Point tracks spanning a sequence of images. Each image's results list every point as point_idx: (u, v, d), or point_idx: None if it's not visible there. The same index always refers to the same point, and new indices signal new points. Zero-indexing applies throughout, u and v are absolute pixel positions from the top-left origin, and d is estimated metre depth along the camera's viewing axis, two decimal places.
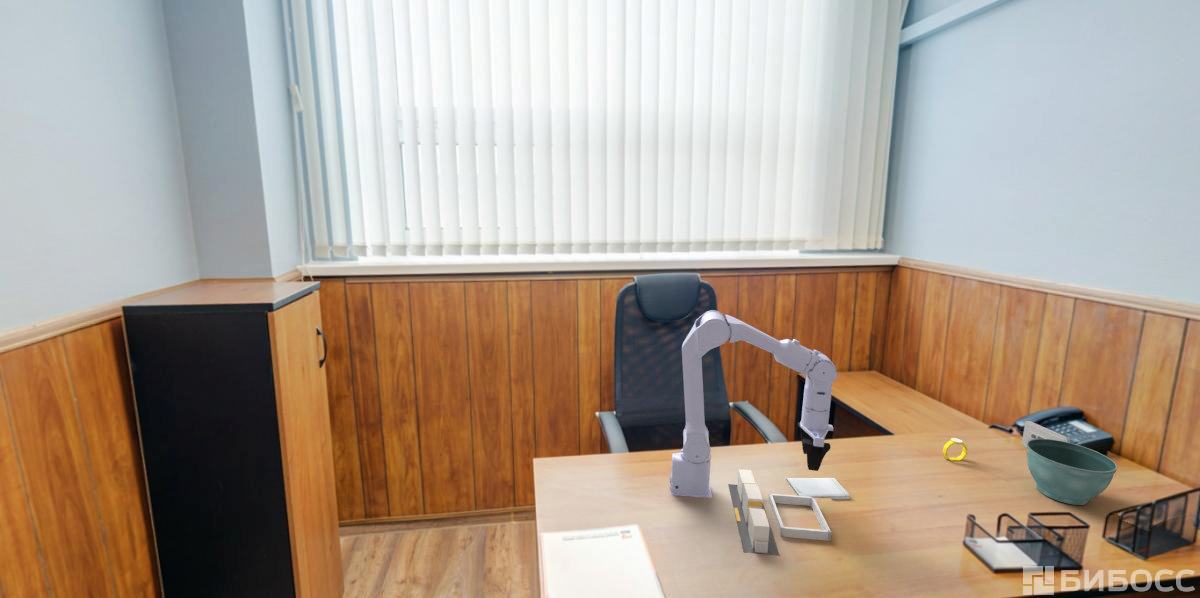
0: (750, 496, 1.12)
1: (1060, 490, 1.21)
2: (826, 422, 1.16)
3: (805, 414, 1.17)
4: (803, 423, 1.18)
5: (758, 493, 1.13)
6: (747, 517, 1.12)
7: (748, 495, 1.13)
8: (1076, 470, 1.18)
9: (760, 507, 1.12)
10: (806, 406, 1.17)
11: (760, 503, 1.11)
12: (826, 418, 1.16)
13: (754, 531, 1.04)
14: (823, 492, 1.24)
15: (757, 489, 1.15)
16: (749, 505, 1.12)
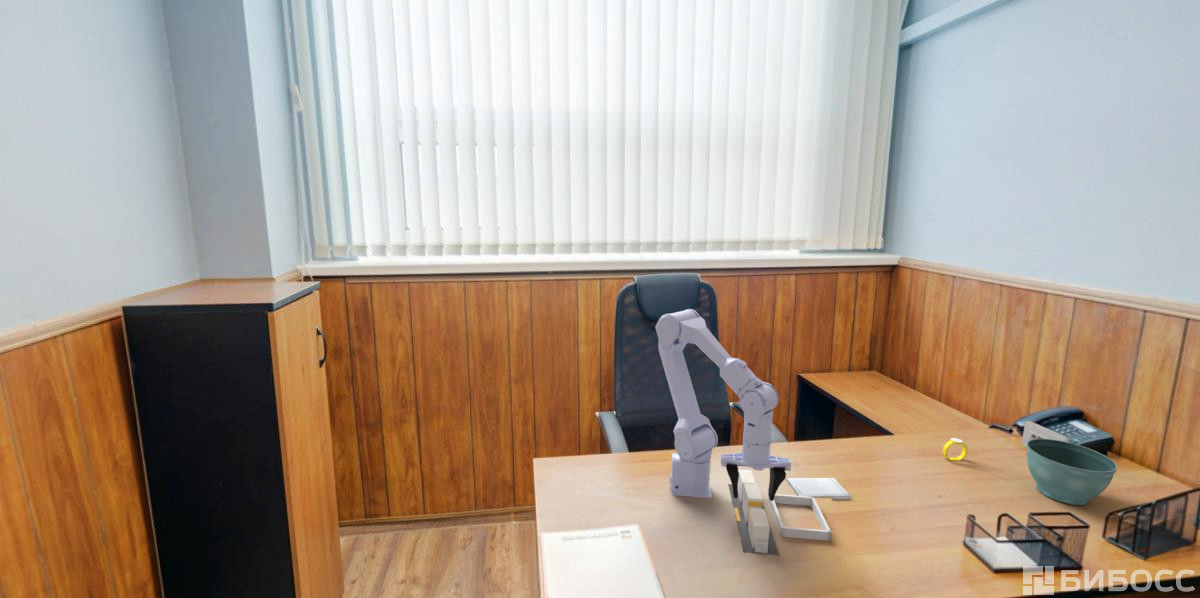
0: (750, 496, 1.12)
1: (1060, 490, 1.21)
2: (749, 455, 1.11)
3: None
4: None
5: (758, 493, 1.13)
6: (747, 517, 1.12)
7: (748, 495, 1.13)
8: (1076, 470, 1.18)
9: (760, 507, 1.12)
10: (743, 436, 1.13)
11: (760, 503, 1.11)
12: (748, 451, 1.10)
13: (754, 531, 1.04)
14: (823, 492, 1.24)
15: (757, 489, 1.15)
16: (749, 505, 1.12)
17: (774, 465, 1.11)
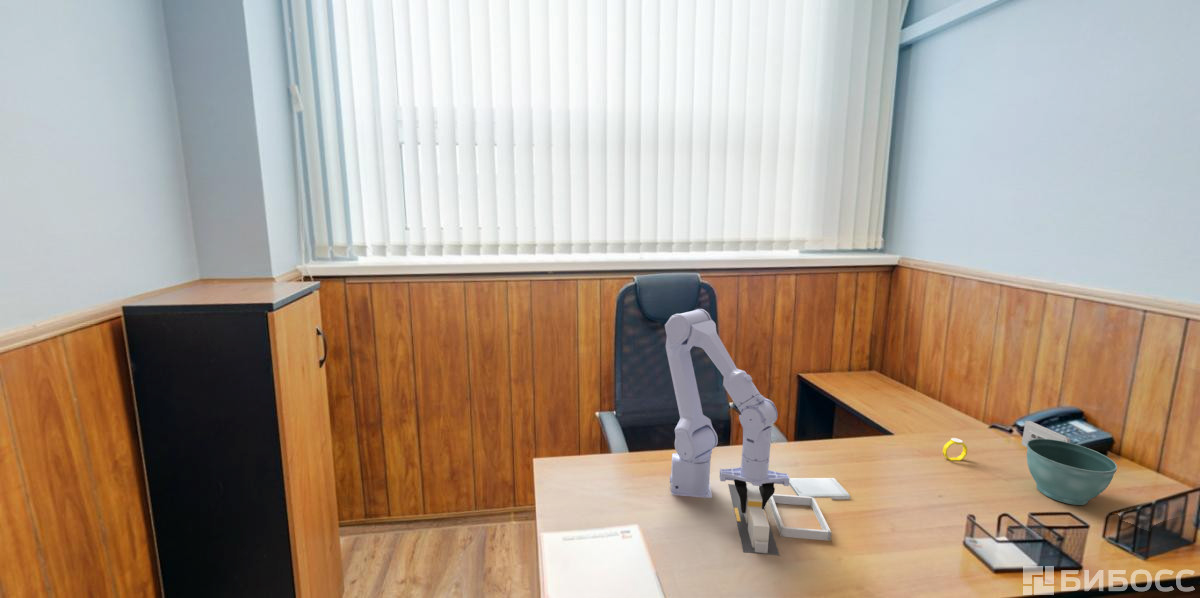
0: (750, 496, 1.12)
1: (1060, 490, 1.21)
2: (747, 471, 1.11)
3: None
4: None
5: (758, 493, 1.13)
6: (747, 517, 1.12)
7: (748, 495, 1.13)
8: (1076, 470, 1.18)
9: (760, 507, 1.12)
10: (742, 451, 1.13)
11: (760, 503, 1.11)
12: (747, 466, 1.11)
13: (754, 531, 1.04)
14: (823, 492, 1.24)
15: (757, 489, 1.15)
16: (749, 505, 1.12)
17: (773, 480, 1.11)
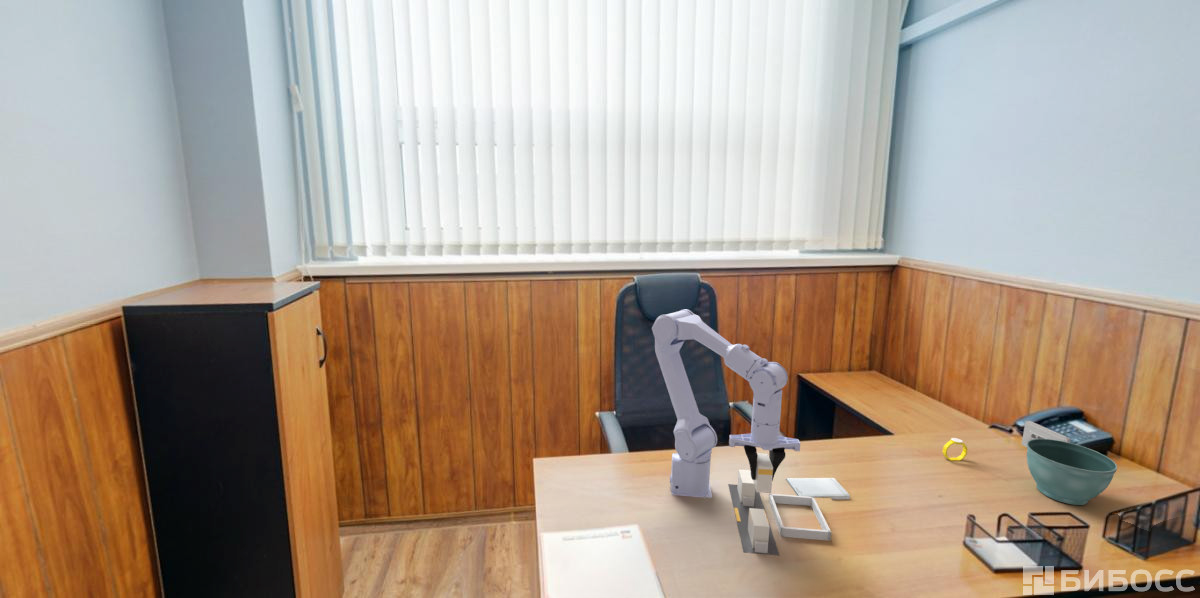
0: (760, 464, 1.10)
1: (1060, 490, 1.21)
2: (757, 435, 1.09)
3: None
4: None
5: (768, 461, 1.11)
6: (757, 486, 1.10)
7: (758, 463, 1.11)
8: (1076, 470, 1.18)
9: (771, 475, 1.09)
10: (752, 416, 1.11)
11: (771, 471, 1.09)
12: (757, 431, 1.09)
13: (754, 531, 1.04)
14: (823, 493, 1.24)
15: (767, 458, 1.13)
16: (759, 473, 1.10)
17: (783, 445, 1.09)
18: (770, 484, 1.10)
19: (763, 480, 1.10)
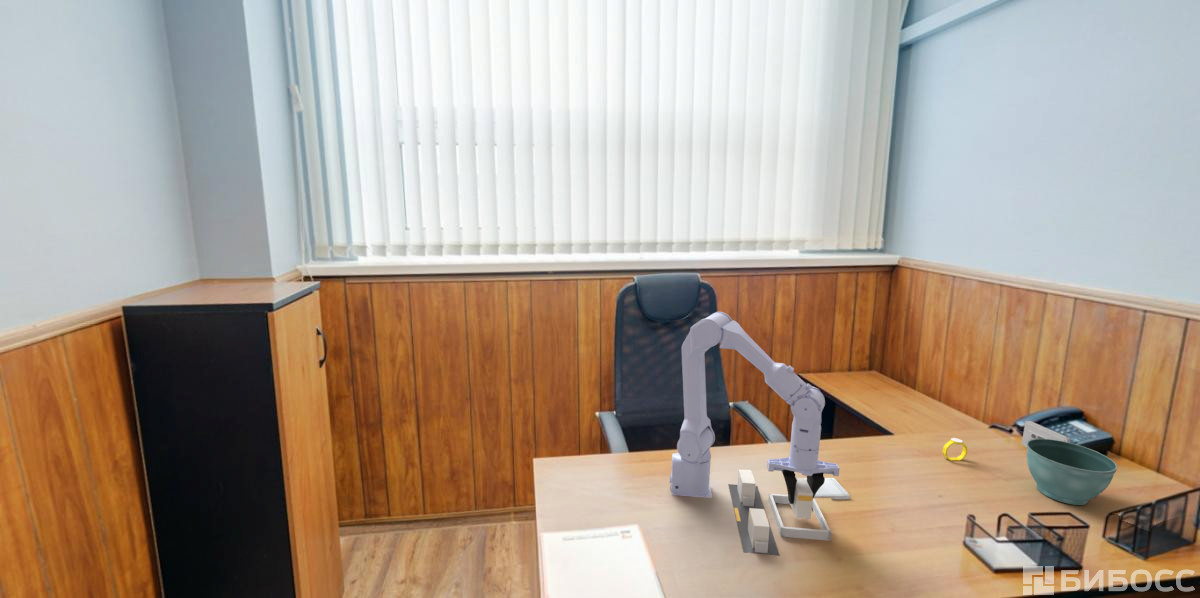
0: (800, 490, 1.10)
1: (1060, 490, 1.21)
2: (797, 461, 1.09)
3: None
4: None
5: (808, 487, 1.11)
6: (797, 512, 1.10)
7: (798, 489, 1.10)
8: (1076, 470, 1.18)
9: (810, 501, 1.09)
10: (791, 442, 1.11)
11: (811, 497, 1.09)
12: (796, 456, 1.09)
13: (754, 531, 1.04)
14: (823, 493, 1.24)
15: (806, 483, 1.13)
16: (799, 499, 1.09)
17: (823, 470, 1.09)
18: (810, 510, 1.10)
19: (803, 506, 1.10)
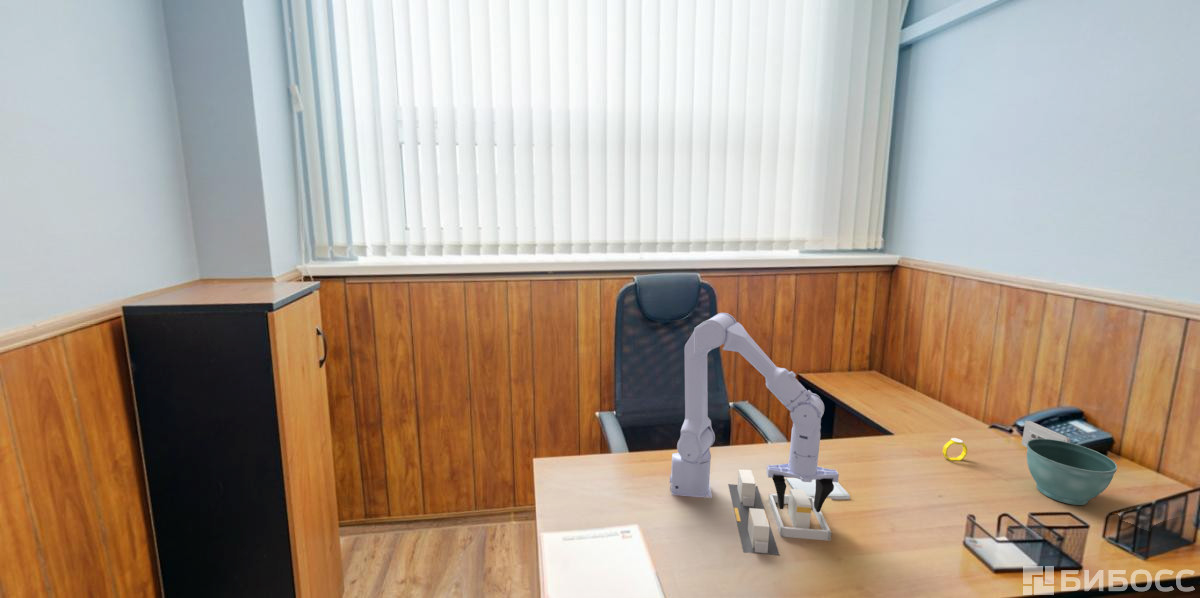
0: (798, 502, 1.11)
1: (1060, 490, 1.21)
2: (796, 467, 1.10)
3: None
4: None
5: (806, 499, 1.12)
6: (795, 523, 1.11)
7: (796, 501, 1.11)
8: (1076, 470, 1.18)
9: (809, 513, 1.10)
10: (791, 448, 1.11)
11: (809, 509, 1.10)
12: (796, 462, 1.10)
13: (754, 531, 1.04)
14: None
15: (804, 494, 1.13)
16: (798, 511, 1.10)
17: (822, 477, 1.10)
18: (808, 522, 1.10)
19: (801, 517, 1.10)
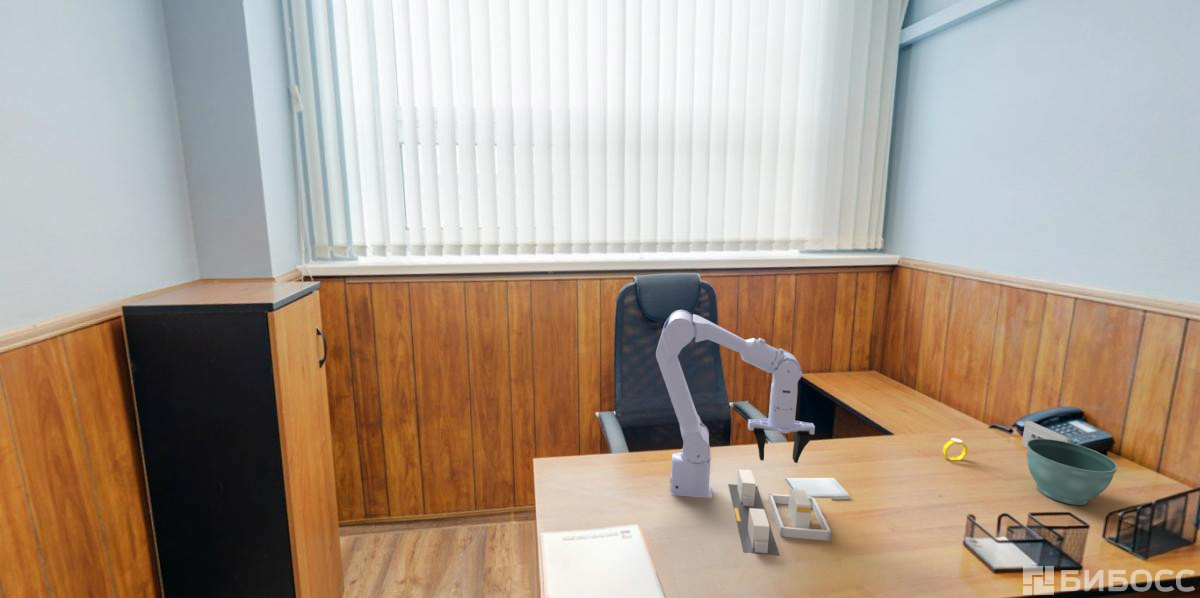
0: (798, 502, 1.11)
1: (1060, 490, 1.21)
2: (775, 419, 1.18)
3: None
4: None
5: (806, 499, 1.12)
6: (795, 523, 1.11)
7: (796, 501, 1.11)
8: (1076, 470, 1.18)
9: (809, 513, 1.10)
10: (772, 404, 1.18)
11: (809, 509, 1.10)
12: (775, 415, 1.18)
13: (754, 531, 1.04)
14: (822, 493, 1.24)
15: (804, 494, 1.13)
16: (798, 511, 1.10)
17: (799, 429, 1.18)
18: (808, 522, 1.10)
19: (801, 517, 1.10)
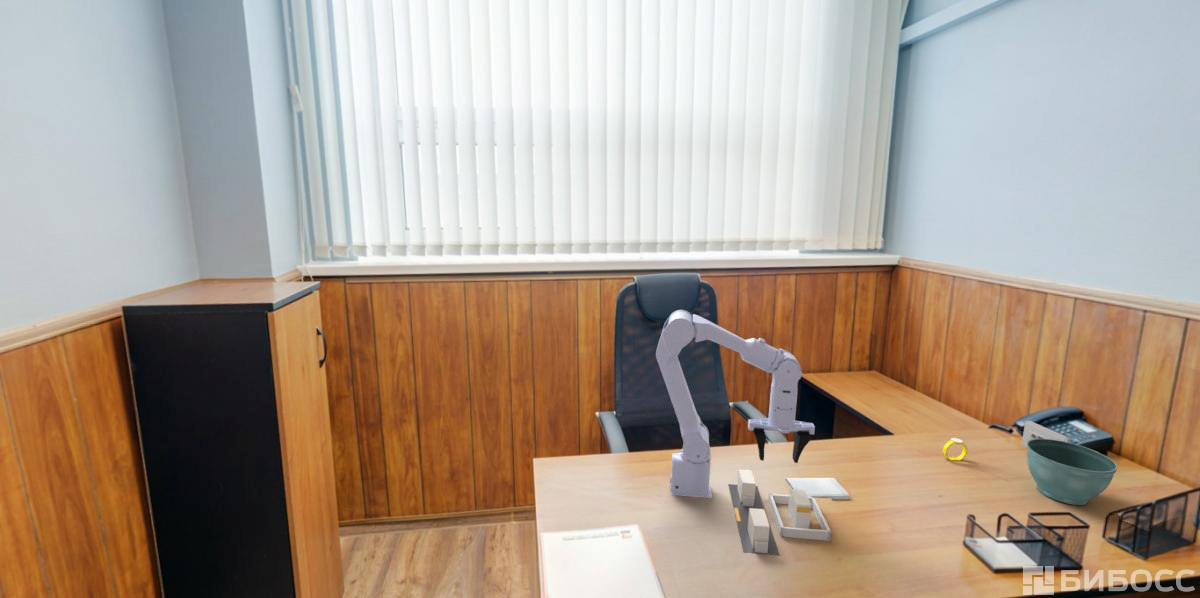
0: (798, 502, 1.11)
1: (1060, 490, 1.21)
2: (775, 419, 1.18)
3: None
4: None
5: (806, 499, 1.12)
6: (795, 523, 1.11)
7: (796, 501, 1.11)
8: (1076, 470, 1.18)
9: (809, 513, 1.10)
10: (772, 404, 1.18)
11: (809, 509, 1.10)
12: (775, 415, 1.18)
13: (754, 531, 1.04)
14: (822, 493, 1.24)
15: (804, 494, 1.13)
16: (798, 511, 1.10)
17: (799, 429, 1.18)
18: (808, 522, 1.10)
19: (801, 517, 1.10)
